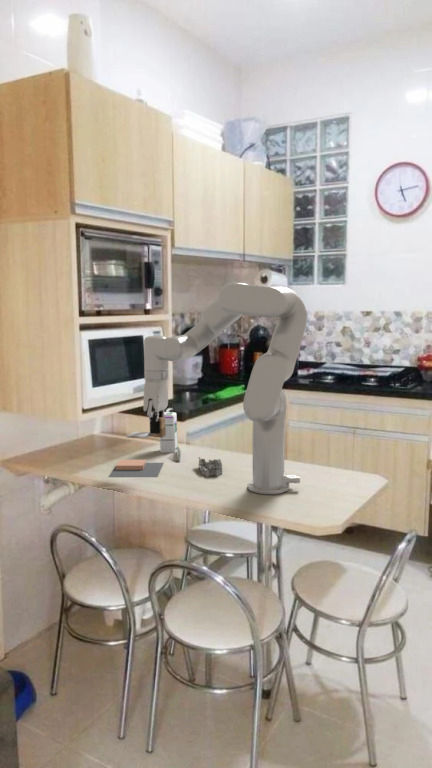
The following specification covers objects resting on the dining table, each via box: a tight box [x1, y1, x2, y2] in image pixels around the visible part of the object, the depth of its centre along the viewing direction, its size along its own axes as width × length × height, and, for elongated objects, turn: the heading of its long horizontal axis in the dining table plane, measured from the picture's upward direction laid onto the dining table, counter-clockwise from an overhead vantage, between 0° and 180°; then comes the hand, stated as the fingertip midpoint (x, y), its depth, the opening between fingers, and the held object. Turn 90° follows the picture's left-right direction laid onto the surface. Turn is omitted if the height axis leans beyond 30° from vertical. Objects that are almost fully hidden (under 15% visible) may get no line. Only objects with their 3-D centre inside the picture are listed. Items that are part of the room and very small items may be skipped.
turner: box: [126, 417, 166, 439], centre depth 191 cm, size 12×6×6 cm, turn 73°
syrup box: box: [159, 411, 179, 453], centre depth 221 cm, size 6×6×14 cm
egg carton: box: [198, 456, 223, 478], centre depth 196 cm, size 11×8×4 cm
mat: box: [107, 462, 164, 478], centre depth 198 cm, size 16×16×1 cm
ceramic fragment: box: [166, 446, 182, 463], centre depth 213 cm, size 14×5×4 cm, turn 1°
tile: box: [115, 459, 147, 470], centre depth 201 cm, size 2×7×9 cm
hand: (157, 431), depth 190 cm, fingers closed on turner, 3 cm apart
